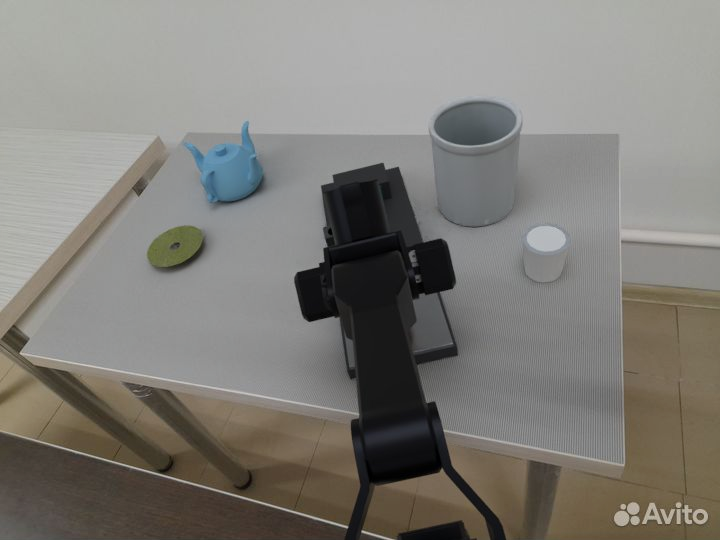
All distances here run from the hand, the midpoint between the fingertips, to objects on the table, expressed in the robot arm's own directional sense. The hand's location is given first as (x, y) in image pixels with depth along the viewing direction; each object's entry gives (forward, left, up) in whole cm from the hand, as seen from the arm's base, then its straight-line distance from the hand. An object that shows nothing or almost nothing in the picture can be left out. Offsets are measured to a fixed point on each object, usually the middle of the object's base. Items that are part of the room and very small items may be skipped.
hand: (375, 277), depth 71 cm
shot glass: (+5, -26, -13) cm, 30 cm away
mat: (+30, +37, -13) cm, 49 cm away
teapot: (+48, +25, -13) cm, 56 cm away
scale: (+15, -1, -13) cm, 20 cm away
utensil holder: (+24, -21, -13) cm, 35 cm away
